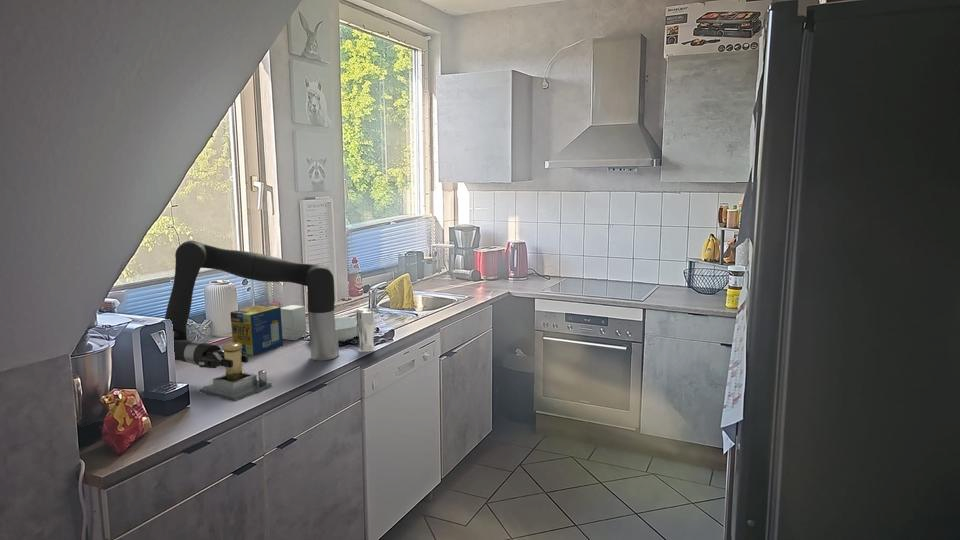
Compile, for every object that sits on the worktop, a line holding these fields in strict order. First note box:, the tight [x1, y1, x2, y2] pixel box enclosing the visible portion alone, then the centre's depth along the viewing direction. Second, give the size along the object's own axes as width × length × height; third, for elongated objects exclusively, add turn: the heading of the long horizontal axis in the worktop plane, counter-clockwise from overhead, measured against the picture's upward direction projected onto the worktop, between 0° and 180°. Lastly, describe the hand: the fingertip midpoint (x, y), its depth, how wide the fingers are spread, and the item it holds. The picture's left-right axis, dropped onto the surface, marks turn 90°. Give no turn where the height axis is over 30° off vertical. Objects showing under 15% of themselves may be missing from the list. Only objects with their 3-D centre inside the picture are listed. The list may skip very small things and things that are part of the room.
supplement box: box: [281, 304, 308, 341], centre depth 258 cm, size 7×7×13 cm
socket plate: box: [198, 369, 272, 402], centre depth 199 cm, size 14×16×5 cm
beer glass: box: [355, 308, 376, 353], centre depth 238 cm, size 7×7×15 cm
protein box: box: [229, 303, 284, 357], centre depth 242 cm, size 10×15×16 cm
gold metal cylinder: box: [221, 342, 244, 382], centre depth 198 cm, size 6×6×12 cm
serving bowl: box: [335, 316, 358, 342], centre depth 255 cm, size 21×21×7 cm
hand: (239, 361), depth 196 cm, fingers closed on gold metal cylinder, 5 cm apart
